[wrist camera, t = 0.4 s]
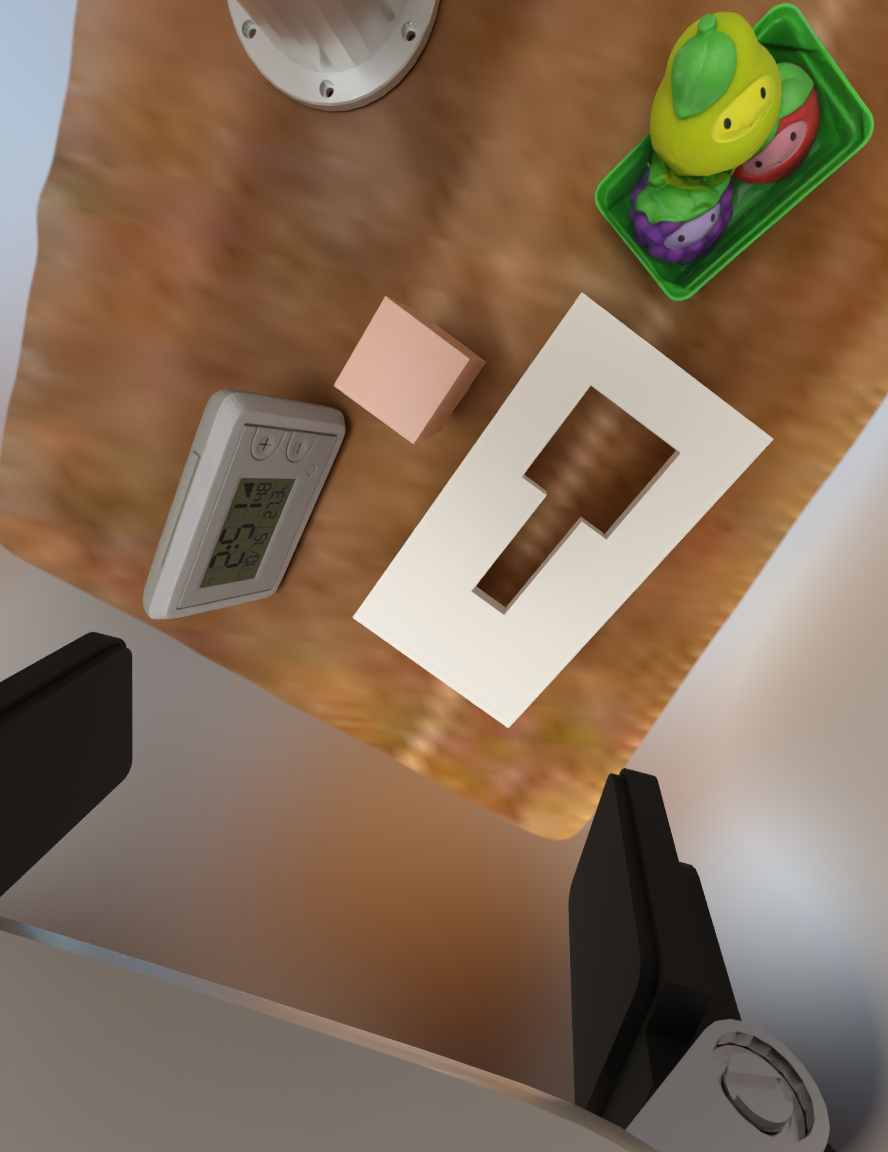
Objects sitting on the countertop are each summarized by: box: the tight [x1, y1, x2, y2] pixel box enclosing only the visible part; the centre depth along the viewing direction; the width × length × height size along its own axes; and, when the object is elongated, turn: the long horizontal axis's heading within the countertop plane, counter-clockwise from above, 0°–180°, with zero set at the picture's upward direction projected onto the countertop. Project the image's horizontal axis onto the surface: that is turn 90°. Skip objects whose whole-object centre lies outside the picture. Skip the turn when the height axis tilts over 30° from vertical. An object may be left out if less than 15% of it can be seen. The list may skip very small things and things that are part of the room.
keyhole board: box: [353, 293, 773, 728], centre depth 37 cm, size 12×22×9 cm, turn 145°
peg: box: [334, 296, 486, 444], centre depth 35 cm, size 5×5×11 cm
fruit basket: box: [595, 3, 874, 301], centre depth 29 cm, size 11×9×11 cm
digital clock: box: [143, 389, 345, 619], centre depth 40 cm, size 16×9×11 cm, turn 141°
